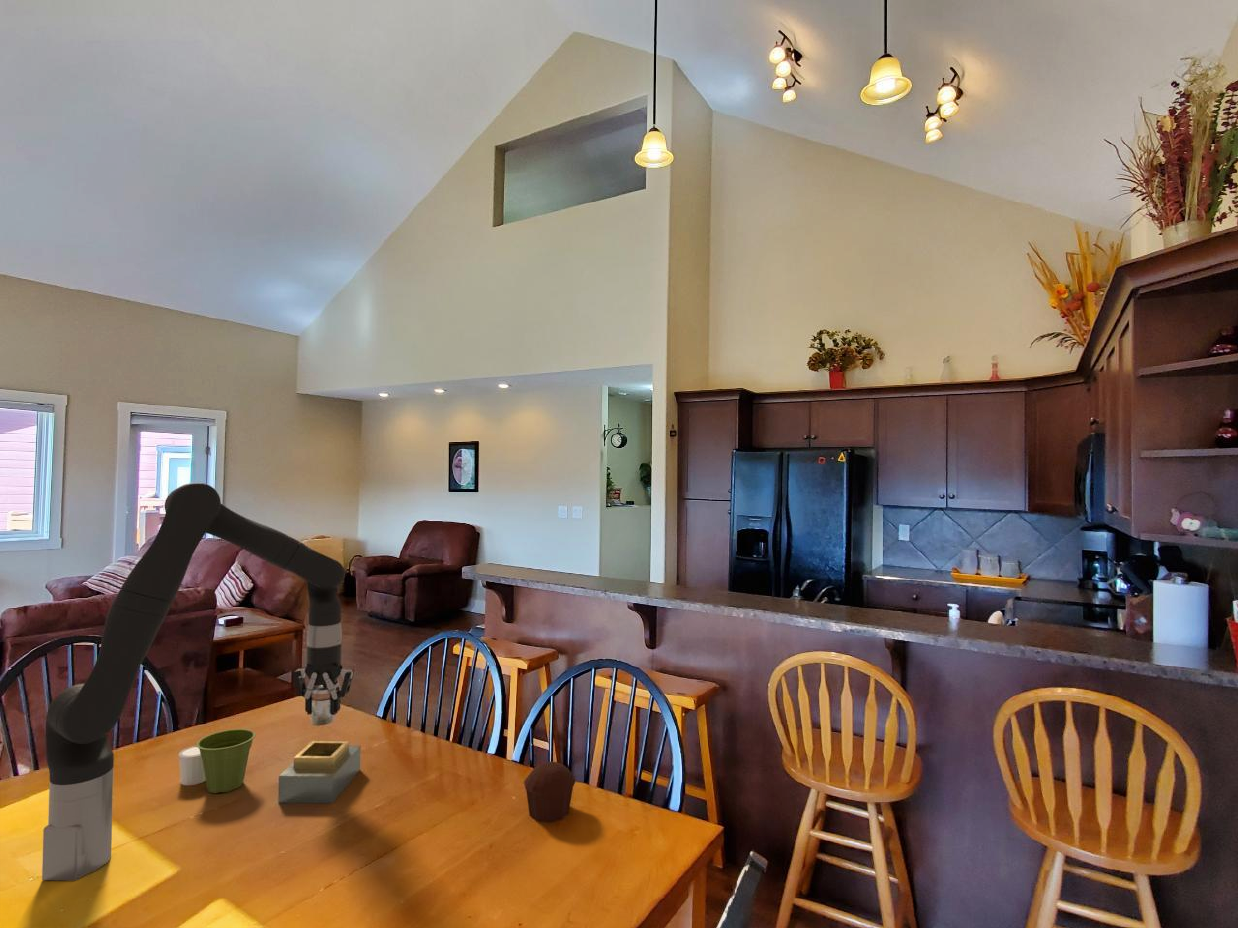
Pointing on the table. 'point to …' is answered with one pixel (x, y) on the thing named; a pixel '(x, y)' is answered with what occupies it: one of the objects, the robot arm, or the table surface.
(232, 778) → the plant pot
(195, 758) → the white cylinder
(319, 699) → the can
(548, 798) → the muffin
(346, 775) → the grey block with socket
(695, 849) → the table surface
